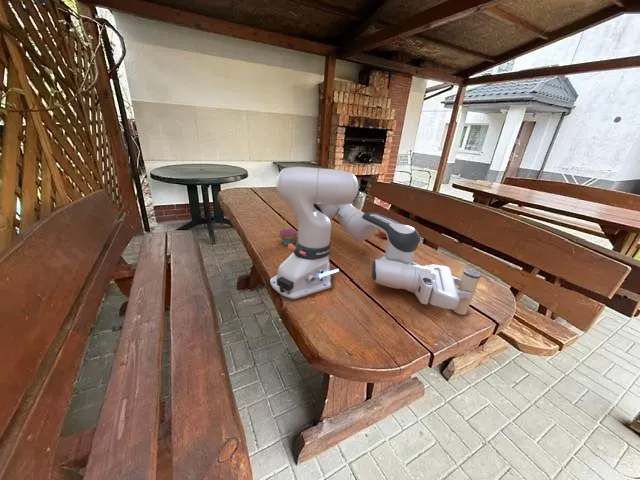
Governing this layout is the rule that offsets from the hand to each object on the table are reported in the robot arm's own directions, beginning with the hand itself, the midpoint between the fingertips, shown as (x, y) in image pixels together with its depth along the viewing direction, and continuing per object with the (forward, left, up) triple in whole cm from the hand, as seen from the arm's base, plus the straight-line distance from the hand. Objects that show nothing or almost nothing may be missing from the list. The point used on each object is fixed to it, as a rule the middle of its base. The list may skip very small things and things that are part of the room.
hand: (469, 290), depth 80 cm
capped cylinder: (0, +1, -8) cm, 8 cm away
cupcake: (-13, +73, -8) cm, 74 cm away
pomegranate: (+31, +50, -8) cm, 59 cm away
